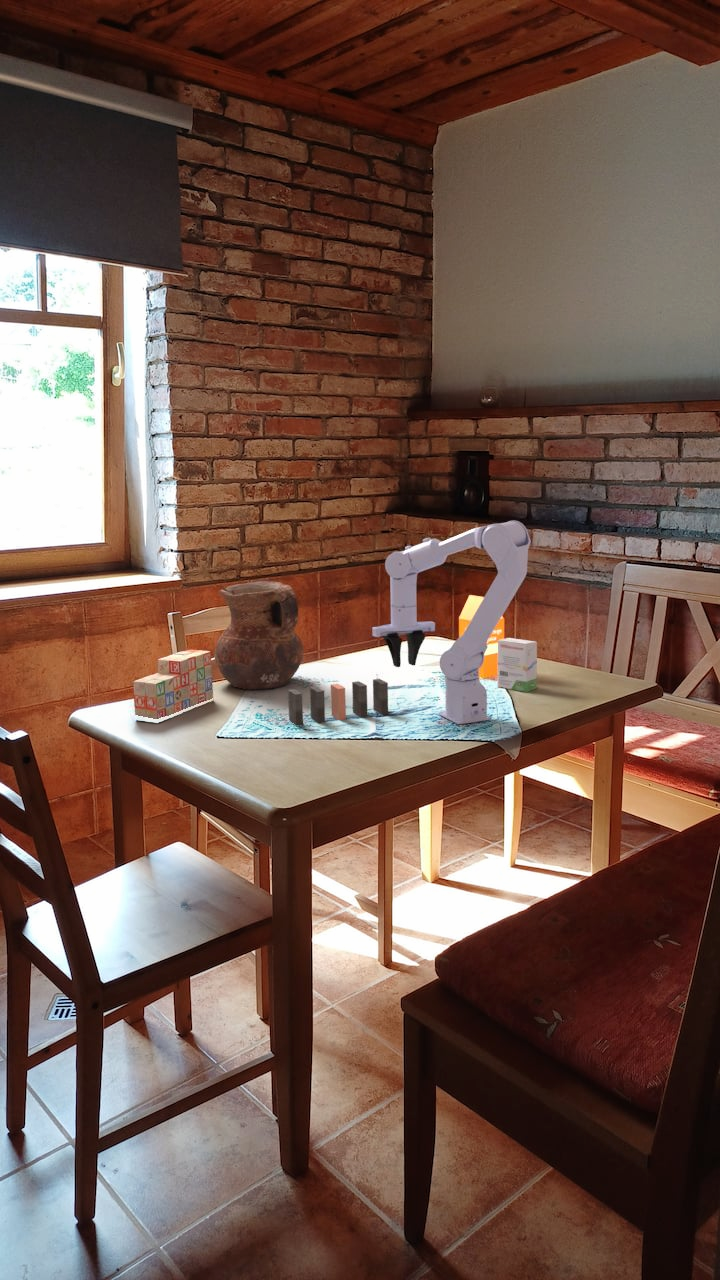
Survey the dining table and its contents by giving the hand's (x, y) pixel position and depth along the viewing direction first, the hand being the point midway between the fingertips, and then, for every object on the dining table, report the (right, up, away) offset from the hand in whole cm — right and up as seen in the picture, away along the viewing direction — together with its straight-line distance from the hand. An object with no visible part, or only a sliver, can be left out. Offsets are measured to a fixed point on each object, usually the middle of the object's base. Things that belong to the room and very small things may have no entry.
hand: (404, 665), depth 218 cm
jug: (-35, -6, +28) cm, 45 cm away
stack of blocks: (-52, -11, +4) cm, 53 cm away
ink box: (+28, -6, +18) cm, 34 cm away
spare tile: (-15, -11, -4) cm, 19 cm away
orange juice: (+21, -3, +33) cm, 40 cm away
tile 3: (-19, -12, -6) cm, 23 cm away
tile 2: (-10, -11, -2) cm, 15 cm away
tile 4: (-24, -12, -8) cm, 28 cm away
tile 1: (-5, -10, 0) cm, 12 cm away
